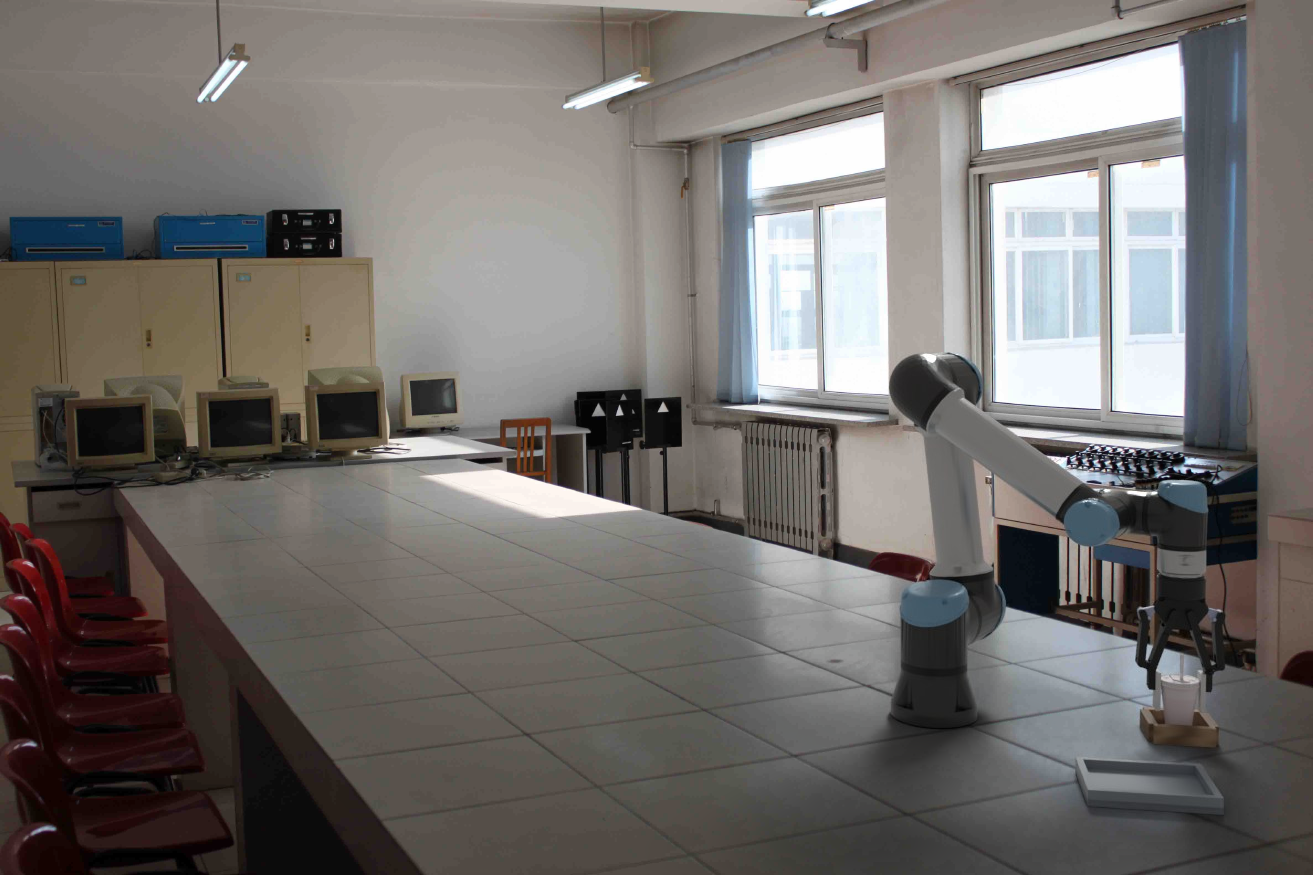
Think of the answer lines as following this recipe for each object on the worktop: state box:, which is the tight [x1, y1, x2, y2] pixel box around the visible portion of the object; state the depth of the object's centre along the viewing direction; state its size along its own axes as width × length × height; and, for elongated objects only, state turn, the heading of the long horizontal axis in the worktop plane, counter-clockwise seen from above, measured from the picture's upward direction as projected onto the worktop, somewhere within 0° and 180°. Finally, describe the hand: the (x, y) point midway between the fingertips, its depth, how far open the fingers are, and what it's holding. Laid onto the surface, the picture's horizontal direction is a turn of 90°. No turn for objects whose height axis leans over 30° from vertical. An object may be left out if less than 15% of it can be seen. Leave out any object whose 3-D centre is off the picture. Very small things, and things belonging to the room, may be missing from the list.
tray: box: [1074, 756, 1225, 816], centre depth 175 cm, size 18×14×2 cm
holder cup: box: [1139, 706, 1220, 748], centre depth 201 cm, size 11×11×3 cm
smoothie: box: [1161, 653, 1200, 726], centre depth 200 cm, size 6×6×14 cm
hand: (1178, 709), depth 200 cm, fingers closed on smoothie, 6 cm apart
